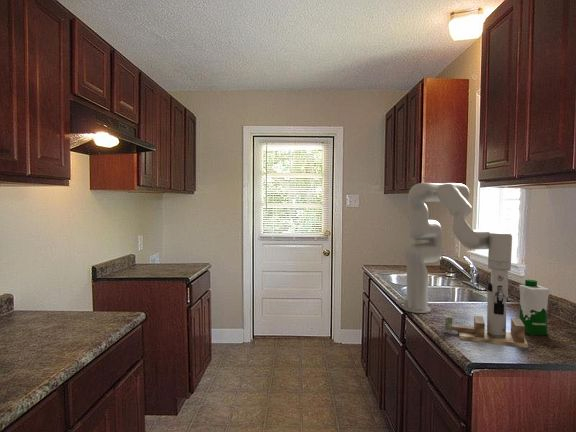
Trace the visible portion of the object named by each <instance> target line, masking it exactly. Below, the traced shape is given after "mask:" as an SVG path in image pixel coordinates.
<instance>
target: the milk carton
mask: <svg viewBox="0 0 576 432" xmlns="http://www.w3.org/2000/svg"><path fill="white" fill-rule="evenodd" d="M524 283H525V284H519V285H518V286H519V318H518V319H521V321H522V323H523V324H524V326H525V334H527V335H531V336H535V335H536V336H548V303H549V302H548V299H549V295H550V292H551V289H550V288H547V287H546V286H541V285H538V280H534V279H525V281H524Z"/></svg>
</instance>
